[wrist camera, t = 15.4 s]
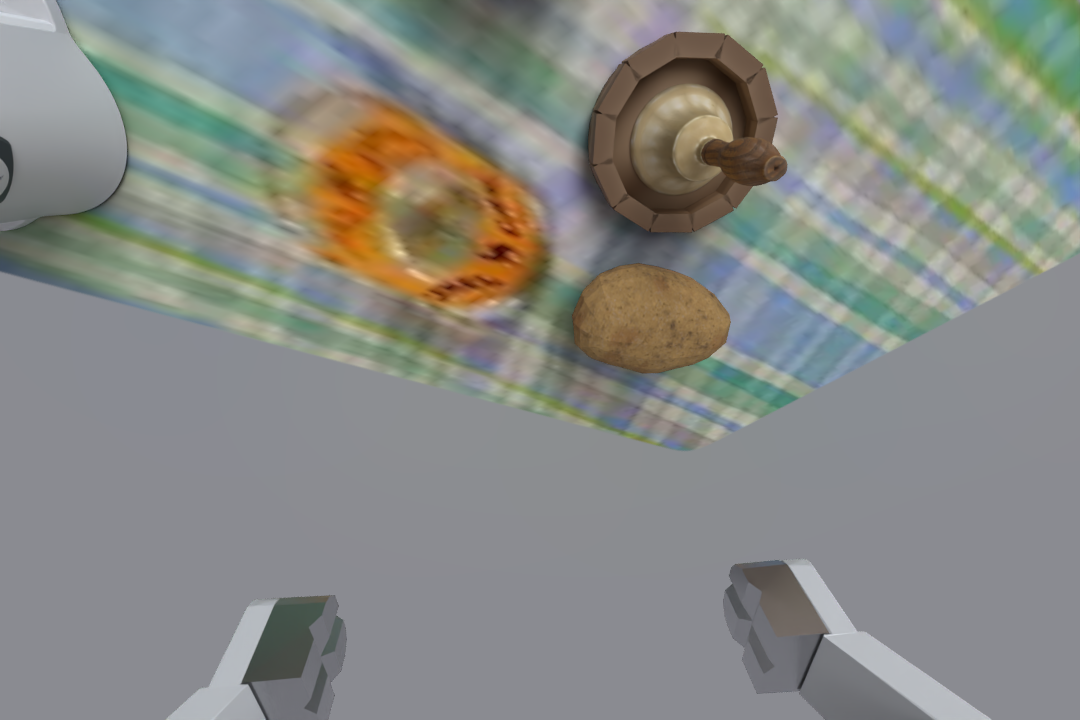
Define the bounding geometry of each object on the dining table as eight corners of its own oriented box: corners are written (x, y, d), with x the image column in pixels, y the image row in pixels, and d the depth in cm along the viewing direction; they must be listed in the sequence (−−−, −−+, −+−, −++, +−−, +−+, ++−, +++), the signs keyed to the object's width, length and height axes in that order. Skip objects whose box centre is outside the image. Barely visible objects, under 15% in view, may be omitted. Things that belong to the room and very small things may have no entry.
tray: (555, 169, 42) (559, 174, 39) (657, -7, 36) (670, -14, 34) (684, 251, 46) (695, 262, 43) (792, 105, 41) (812, 106, 38)
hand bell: (618, 186, 42) (682, 237, 28) (645, 73, 38) (735, 65, 24) (711, 202, 43) (816, 259, 29) (746, 94, 39) (887, 100, 25)
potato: (693, 352, 51) (725, 394, 44) (558, 342, 49) (568, 384, 42) (721, 260, 47) (761, 290, 40) (573, 245, 45) (587, 274, 38)
